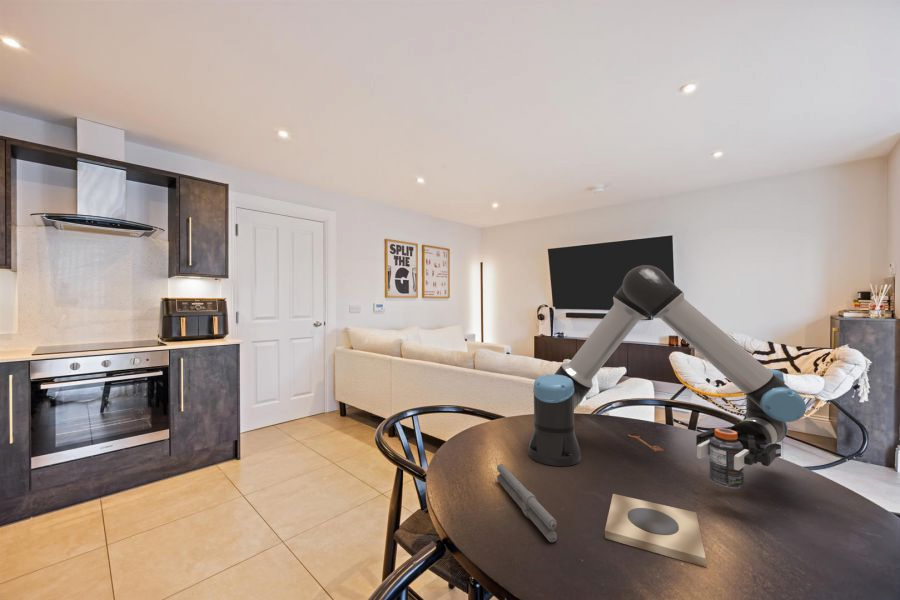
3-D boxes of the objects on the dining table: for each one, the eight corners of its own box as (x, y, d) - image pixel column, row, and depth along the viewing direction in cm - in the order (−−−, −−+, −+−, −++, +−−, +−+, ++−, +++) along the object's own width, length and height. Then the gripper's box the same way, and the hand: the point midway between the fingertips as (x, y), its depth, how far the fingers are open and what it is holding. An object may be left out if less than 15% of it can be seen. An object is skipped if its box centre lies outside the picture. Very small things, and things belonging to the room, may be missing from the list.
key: (668, 453, 112) (642, 436, 127) (668, 450, 112) (642, 433, 127) (650, 452, 112) (626, 435, 127) (650, 449, 112) (626, 432, 127)
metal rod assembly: (495, 483, 93) (495, 463, 93) (505, 481, 93) (505, 462, 93) (547, 547, 68) (547, 519, 68) (560, 544, 68) (560, 517, 69)
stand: (604, 538, 70) (604, 529, 70) (613, 500, 84) (612, 492, 84) (705, 567, 62) (705, 557, 62) (696, 519, 76) (696, 511, 76)
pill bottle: (738, 479, 80) (739, 428, 81) (747, 491, 75) (747, 437, 75) (706, 473, 83) (706, 424, 83) (712, 485, 78) (712, 432, 78)
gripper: (805, 465, 82) (776, 494, 68) (708, 439, 97) (668, 459, 84) (805, 431, 82) (775, 455, 69) (708, 411, 97) (668, 427, 84)
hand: (716, 457), depth 76 cm, fingers closed on pill bottle, 6 cm apart
